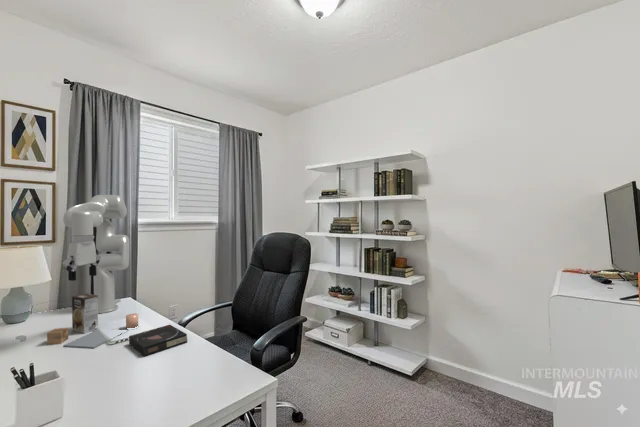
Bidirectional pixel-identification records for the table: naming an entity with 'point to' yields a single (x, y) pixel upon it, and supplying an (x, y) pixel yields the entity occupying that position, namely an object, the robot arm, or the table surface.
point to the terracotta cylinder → (132, 320)
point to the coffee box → (84, 313)
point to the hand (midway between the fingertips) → (83, 277)
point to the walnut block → (57, 336)
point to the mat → (88, 341)
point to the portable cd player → (157, 340)
